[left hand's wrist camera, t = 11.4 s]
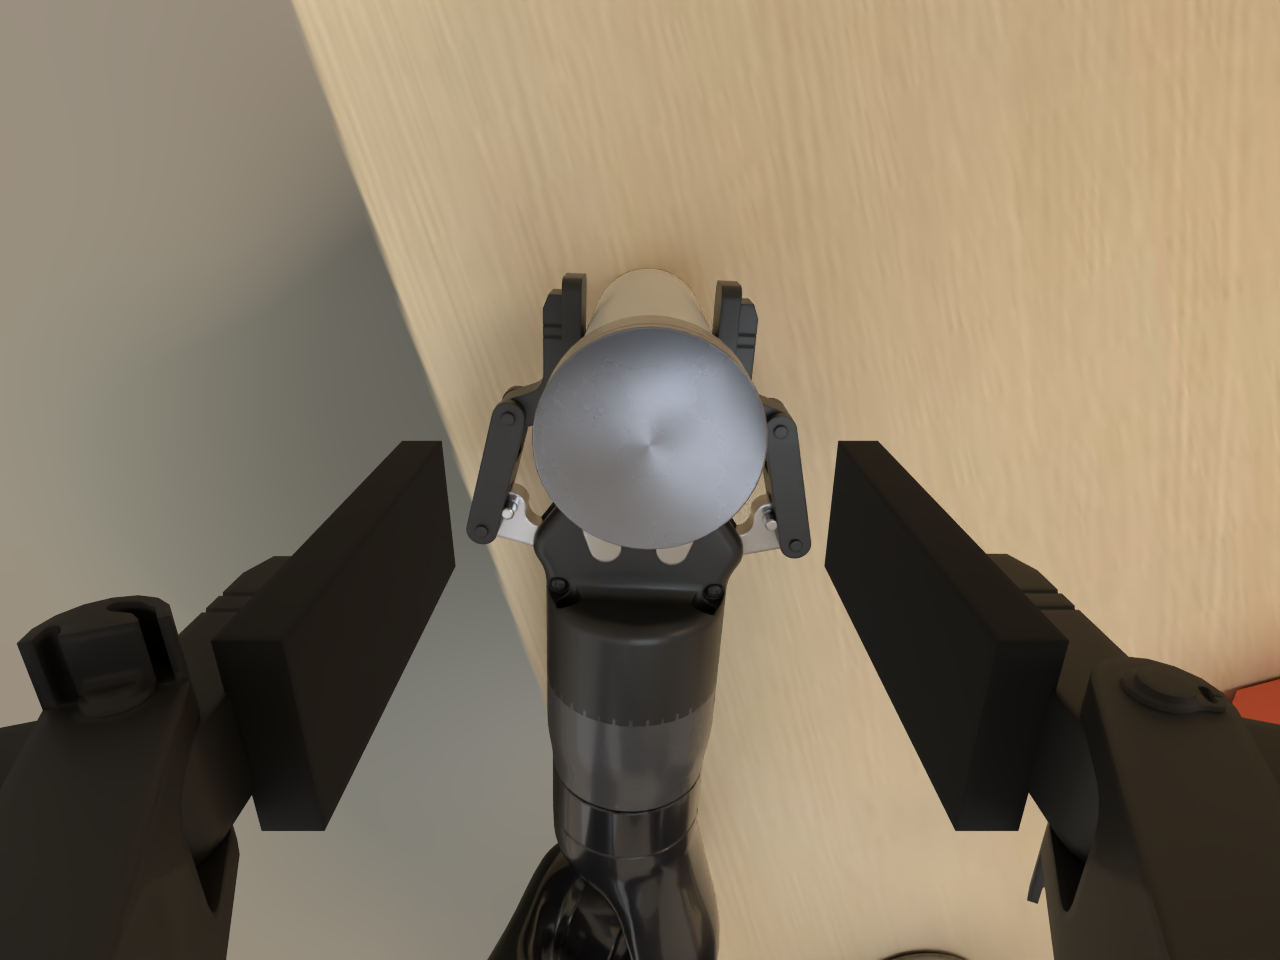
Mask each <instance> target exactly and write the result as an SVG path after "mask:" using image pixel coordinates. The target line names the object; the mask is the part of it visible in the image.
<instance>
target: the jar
mask: <svg viewBox="0 0 1280 960" xmlns="http://www.w3.org/2000/svg"><path fill="white" fill-rule="evenodd" d="M643 315H657V316H668V317H672V318H677V319H681V320H684V321H687V322H690V323H693V324H695V325H697V326H699V327H701V328H703V329H705V330H707V331H709V332H710V333H711V331H710V328H709V326H708V324H707V322H706V320H705V317H704V315H703V313H702V311H701V309H700V307H699V304H698V302H697V300H696V298H695V296H694V294H693V293H692V291H691V290H690V289H689V287H688V286H687V285H686V284H685V283H684V282H683V281H682V280H680V279H679V278H678V277H676V276H674V275H672V274H671V273H668V272H666V271H663V270H658V269H650V268H647V269H638V270H634V271H631V272H628V273H626V274H624V275H622V276H620V277H619V278H617V279H616V280H614V281H613V282H612V283H611V284H610V285H609V286H608V287H607V289H606V290H605V291H604V293H603V294H602V296H601V298H600V300H599V302H598V305H597V307H596V309H595V312H594V314H593V317H592V319H591V321H590V324H589V326H588V328H587V331H586V333H585V335H587V334H588V333H590V332H591V331H593V330H595V329H597V328H599V327H601V326H603V325H605V324H607V323H610V322H613V321H616V320H619V319H622V318H628V317H633V316H643ZM711 334H712V333H711Z"/></svg>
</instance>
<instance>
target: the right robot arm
mask: <svg viewBox="0 0 1280 960" xmlns="http://www.w3.org/2000/svg"><path fill="white" fill-rule="evenodd" d="M586 288H587V280H586V274H579V273H566V274H565V276H564V277H563V280H562V289H553V290H552V291H551V292H550V293H549V295H548V297H547V300H546V302H545V305H544V307H543V369H544V374H543V379H542V380H540V381H539V382H537V383H534V384H531V385H528V386H524V387H523V386H513V387H511V388H509V389H508V390H507V391H506V393H505V394H504V396H503V398H502V401H501V402H500V403H499V404H498V405H497V406H496V407H495V409H494V411H493V413H492V417H491V421H490V426H489V430H488V435H487V439H486V444H485V448H484V452H483V457H482V461H481V466H480V470H479V474H478V479H477V483H476V488H475V492H474V497H473V501H472V505H471V510H470V514H469V519H468V523H467V528H466V530H467V534H468V536H469V538H470V539H471V540H472V541H474V542H476V543H478V544H488V543H490V542H492V541H493V540H494V539H495V538H496V536H498V537H502V538H506V539H510V540H514V541H517V542H521V543H525V544H529V545H533V546H534V551H535V553H536V555H537V557H538V559H539V560H540V562H541V563H542V565H543V567H544V570H545V573H546V580H547V710H548V726H549V733H550V738H551V743H552V749H553V810H554V828H555V834H556V838H557V841H558V843H557V844H556V845H555V846H554V847H553V848H551V849H550V850H549V852H548V853H547V854H546V855H545V856H544V858H543V859H542V861H541V862H540V864H539V866H538V867H537V869H536V871H535V873H534V874H533V877H532V878H531V880H530V882H529V884H528V886H527V888H526V890H525V892H524V895H523V896H522V898H521V901H520V903H519V905H518V907H517V909H516V911H515V913H514V914H513V916H512V918H511V920H510V922H509V924H508V926H507V928H506V929H505V931H504V933H503V934H502V936H501V938H500V939H499V941H498V943H497V945H496V946H495V948H494V950H493V951H492V953H491V955H490V956H489V958H488V960H717V959H718V952H719V931H720V930H719V914H718V907H717V901H716V896H715V891H714V886H713V882H712V878H711V874H710V871H709V867H708V863H707V859H706V855H705V851H704V846H703V841H702V837H701V833H700V830H699V826H698V823H697V812H698V802H699V792H700V782H701V772H702V763H703V757H704V753H705V750H706V747H707V743H708V740H709V736H710V732H711V726H712V719H713V709H714V700H715V691H716V681H717V671H718V662H719V652H720V643H721V633H722V624H723V614H724V605H725V595H726V587H727V583H728V580H729V578H730V576H731V574H732V572H733V571H734V570H735V568H736V567H737V566H738V564H739V563H740V561H741V559H742V556H743V555H744V554H750V553H756V552H761V551H767V550H773V549H779V548H781V551H782V553H783V554H784V555H785V556H787V557H789V558H800V557H802V556H804V555H806V554H807V553H808V551H809V550H810V547H811V538H810V530H809V522H808V514H807V506H806V498H805V490H804V482H803V474H802V466H801V458H800V450H799V441H798V433H797V427H796V424H795V422H794V421H793V419H792V418H791V416H790V414H789V413H788V411H787V410H786V408H785V407H784V405H783V404H782V402H781V401H779V400H777V399H775V398H766V397H764V396H762V395H759V397H760V399H761V401H762V404H763V408H764V412H765V415H766V421H767V429H768V447H767V454H766V460H765V464H764V467H763V473H764V480H765V487H766V495H761V496H759V497H757V498H756V499H755V500H754V501H753V502H752V505H751V513H750V516H749V518H748V520H747V521H746V522H744V523H743V524H740V525H736V523H735V522H734V520H733V519H732V518H731V519H730V520H729V521H728V522H727V523H725V524H724V525H722V526H721V527H720V528H718V529H717V530H715V531H714V532H712V533H710V534H708V535H707V536H705V537H703V538H700V539H698V540H696V541H693V542H691V543H688V544H684V545H681V546H677V547H671V548H665V549H649V550H647V549H634V548H628V547H623V546H618V545H615V544H612V543H609V542H606V541H604V540H601V539H599V538H597V537H595V536H593V535H591V534H589V533H588V532H586V531H584V530H583V529H581V528H580V527H578V526H577V525H576V524H575V523H573V522H572V521H571V520H569V519H568V518H567V517H566V516H565V515H564V514H563V513H562V512H561V511H560V510H559V508H558V507H557V506H556V504H555V503H554V502H553V503H552V504H551V506H550V507H549V508H548V509H547V511H546V512H545V513H544V514H543V515H542V517H540V516H538V515H536V514H535V513H533V512H532V510H531V509H530V506H529V494H528V491H527V490H526V489H525V488H524V487H523V486H521V485H519V484H515V479H516V474H517V470H518V466H519V462H520V458H521V454H522V450H523V446H524V442H525V438H526V434H527V430H528V426H531V425H533V422H534V416H535V412H536V409H537V405H538V402H539V399H540V397H541V395H542V393H543V391H544V389H545V386H546V384H547V383H548V381H549V379H550V377H551V375H552V373H553V371H554V369H555V368H556V366H557V364H558V363H559V361H560V360H561V358H562V357H563V356H564V355H565V354H566V353H567V351H568V350H569V349H570V348H571V347H572V346H573V345H574V344H575V343H577V342H578V341H579V340H580V339H581V338H582V337H584V336H585V333H586ZM757 324H758V317H757V314H756V310H755V307H754V304H753V303H752V302H751V301H750V300H749V299H745V298H742V287H741V285H740V284H739V283H738V282H737V281H717V286H716V296H715V307H714V319H713V331H712V334H713V335H714V336H716V337H717V338H719V339H720V340H721V341H722V342H723V343H724V344H725V345H726V346H728V347H729V348H730V349H731V350H732V352H733V353H734V354H735V355H736V357H737V358H738V359H739V360H740V362H741V363H742V365H743V367H744V368H745V370H746V372H747V373H748V375H749V377H750V379H751V380H752V370H753V361H754V352H755V343H756V333H757ZM892 960H962V959H960V958H957V957H954V956H950V955H945V954H938V953H920V954H912V955H906V956H902V957H898V958H895V959H892Z"/></svg>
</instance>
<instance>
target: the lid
mask: <svg viewBox="0 0 1280 960" xmlns="http://www.w3.org/2000/svg"><path fill="white" fill-rule="evenodd" d="M532 446H533V454H534V460H535V464H536V468H537V472H538V474H539V476H540V479H541V481H542V484H543V486H544V488H545V489H546V491H547V493H548V495H549V496H550V498H551V499H552V501H553V502H554V503H555V504H556V506H557V507H558V508H559V510H560V511H561V512H562V513H563V514H564V515H565V516H566V517H567V518H568V519H569V520H571V521H572V522H573V523H575V524H576V525H577V526H578V527H580V528H581V529H583V530H584V531H586V532H588V533H589V534H591V535H593V536H595V537H597V538H599V539H601V540H604V541H606V542H609V543H612V544H615V545H618V546H623V547H628V548H634V549H647V550H649V549H665V548H671V547H677V546H681V545H684V544H688V543H691V542H693V541H696V540H698V539H700V538H703V537H705V536H707V535H708V534H710V533H712V532H714V531H715V530H717V529H718V528H720V527H721V526H722V525H724V524H725V523H727V522H728V521H729V520H730V519H731V518H732V517H733V516H734V515H735V514H736V513H737V512H738V511H739V510H740V509H741V508H742V507H743V505H744V504H745V503H746V502H747V500H748V499H749V497H750V496H751V494H752V492H753V491H754V489H755V487H756V485H757V483H758V481H759V479H760V476H761V474H762V470H763V467H764V464H765V460H766V454H767V447H768V429H767V421H766V415H765V412H764V408H763V404H762V401H761V399H760V397H759V394H758V392H757V390H756V388H755V386H754V384H753V382H752V380H751V379H750V377H749V375H748V373H747V372H746V370H745V368H744V367H743V365H742V363H741V362H740V360H739V359H738V358H737V357H736V355H735V354H734V353H733V352H732V350H731V349H730V348H729V347H728V346H726V345H725V344H724V343H723V342H722V341H721V340H720V339H719V338H717V337H716V336H714V335H713V334H711V333H710V332H709V331H707V330H705V329H703V328H701V327H699V326H697V325H695V324H693V323H690V322H687V321H684V320H681V319H677V318H672V317H668V316H657V315H643V316H633V317H628V318H622V319H619V320H616V321H613V322H610V323H607V324H605V325H603V326H601V327H599V328H597V329H595V330H593V331H591V332H590V333H588V334H587V335H585V336H584V337H582V338H581V339H580V340H579V341H578V342H577V343H575V344H574V345H573V346H572V347H571V348H570V349H569V350H568V351H567V353H566V354H565V355H564V356H563V357H562V358H561V360H560V361H559V363H558V364H557V366H556V368H555V369H554V371H553V373H552V375H551V377H550V379H549V381H548V383H547V384H546V386H545V389H544V391H543V393H542V395H541V397H540V399H539V402H538V405H537V409H536V412H535V416H534V422H533V429H532Z"/></svg>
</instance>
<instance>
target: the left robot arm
mask: <svg viewBox="0 0 1280 960" xmlns="http://www.w3.org/2000/svg"><path fill="white" fill-rule="evenodd" d="M454 568H455V557H454V548H453V539H452V531H451V521H450V512H449V503H448V494H447V485H446V476H445V467H444V458H443V449H442V441H402V442H401V443H400V444H399V445H398V446H397V447H396V448H395V449H394V450H393V451H392V452H391V453H390V454H389V455H388V456H387V457H386V458H385V459H384V460H383V462H382V463H381V464H380V465H379V466H378V467H377V468H376V469H375V470H374V471H373V472H372V473H371V474H370V475H369V476H368V477H367V478H366V479H365V480H364V481H363V482H362V483H361V484H360V485H359V486H358V488H357V489H356V490H355V491H354V492H353V493H352V494H351V495H350V496H349V497H348V498H347V499H346V500H345V501H344V502H343V503H342V504H341V505H340V506H339V507H338V508H337V509H336V510H335V511H334V513H333V514H332V515H331V516H330V517H329V518H328V519H327V520H326V521H325V522H324V523H323V524H322V525H321V526H320V527H319V528H318V529H317V530H316V531H315V532H314V533H313V534H312V535H311V536H310V538H309V539H308V540H307V541H306V542H305V543H304V544H303V545H302V546H301V547H300V548H299V549H298V550H297V551H296V552H295V553H294V554H293V555H292V556H274V557H272V558H270V559H268V560H266V561H264V562H262V563H261V564H259V565H257V566H255V567H253V568H251V569H249V570H248V571H246V572H244V573H243V574H242V575H241V576H239V577H238V578H237V579H236V580H235V581H234V582H233V583H232V584H231V585H230V586H229V587H228V588H227V589H226V590H225V591H224V592H223V596H219V597H218V598H216V599H215V600H214V601H213V602H212V603H211V604H210V605H209V606H208V607H207V608H206V613H201V614H200V615H199V616H198V617H197V618H196V619H194V621H192V622H191V623H190V624H189V625H188V626H187V627H186V628H185V629H184V630H183V631H182V632H181V633H180V634H179V635H178V633H177V629H176V626H175V622H174V619H173V615H172V612H171V608H170V605H169V604H167V603H166V602H164V601H163V600H161V599H159V598H156V597H148V596H140V595H137V596H126V597H115V598H109V599H105V600H101V601H97V602H93V603H89V604H84V605H82V606H79V607H76V608H74V609H71V610H69V611H66V612H63V613H61V614H58V615H56V616H54V617H52V618H50V619H49V620H47V621H45V622H43V623H42V624H40V625H38V626H36V627H35V628H33V629H31V630H30V631H29V632H28V633H27V634H26V635H25V636H24V637H23V638H22V639H21V640H20V641H19V642H18V643H17V645H18V648H19V650H20V653H21V656H22V658H23V661H24V663H25V666H26V668H27V671H28V674H29V676H30V679H31V681H32V684H33V686H34V689H35V691H36V694H37V697H38V699H39V702H40V704H41V707H42V709H43V711H42V713H41V715H40V717H39V718H38V720H37V721H33V722H28V723H23V724H18V725H13V726H8V727H2V728H0V960H226V955H227V948H228V940H229V932H230V924H231V917H232V909H233V901H234V893H235V885H236V878H237V870H238V862H239V848H238V842H237V837H236V834H235V831H234V827H233V823H234V822H235V820H236V819H237V817H238V816H239V814H240V813H241V811H242V809H243V808H244V806H245V805H246V803H247V802H248V800H249V799H250V797H251V795H252V796H253V800H254V804H255V807H256V811H257V815H258V819H259V822H260V826H261V830H262V831H325V829H326V827H327V825H328V823H329V821H330V819H331V817H332V815H333V813H334V811H335V809H336V807H337V804H338V802H339V800H340V798H341V796H342V794H343V792H344V790H345V788H346V786H347V784H348V782H349V780H350V778H351V776H352V774H353V772H354V770H355V768H356V766H357V764H358V762H359V760H360V758H361V756H362V754H363V752H364V750H365V748H366V746H367V744H368V742H369V740H370V738H371V736H372V734H373V732H374V730H375V728H376V726H377V724H378V722H379V720H380V718H381V716H382V713H383V712H384V710H385V707H386V705H387V703H388V701H389V699H390V697H391V695H392V693H393V691H394V689H395V687H396V685H397V683H398V681H399V679H400V677H401V675H402V673H403V671H404V669H405V667H406V665H407V663H408V661H409V659H410V657H411V655H412V653H413V651H414V649H415V647H416V645H417V643H418V641H419V639H420V637H421V635H422V633H423V631H424V629H425V627H426V625H427V623H428V621H429V619H430V616H431V615H432V613H433V610H434V608H435V606H436V604H437V602H438V600H439V598H440V596H441V594H442V592H443V590H444V588H445V586H446V584H447V582H448V580H449V578H450V576H451V574H452V572H453V570H454ZM825 568H826V570H827V572H828V574H829V576H830V578H831V580H832V582H833V584H834V586H835V588H836V590H837V592H838V594H839V596H840V598H841V600H842V602H843V604H844V606H845V608H846V610H847V613H848V615H849V617H850V619H851V621H852V623H853V625H854V627H855V629H856V631H857V633H858V635H859V637H860V639H861V641H862V643H863V645H864V647H865V649H866V651H867V653H868V655H869V657H870V659H871V661H872V663H873V665H874V667H875V669H876V671H877V673H878V675H879V677H880V679H881V681H882V683H883V685H884V687H885V689H886V691H887V693H888V695H889V697H890V699H891V701H892V703H893V705H894V708H895V710H896V712H897V714H898V716H899V718H900V720H901V722H902V724H903V726H904V728H905V730H906V732H907V734H908V736H909V738H910V740H911V742H912V744H913V746H914V748H915V750H916V752H917V754H918V756H919V758H920V760H921V762H922V764H923V766H924V768H925V770H926V772H927V774H928V776H929V778H930V780H931V782H932V784H933V786H934V788H935V790H936V792H937V794H938V796H939V798H940V800H941V802H942V805H943V807H944V809H945V811H946V813H947V815H948V817H949V819H950V821H951V823H952V825H953V827H954V829H955V831H1018V830H1019V826H1020V822H1021V819H1022V815H1023V811H1024V808H1025V804H1026V800H1027V796H1028V793H1030V795H1031V796H1032V798H1033V799H1034V801H1035V803H1036V804H1037V806H1038V807H1039V809H1040V810H1041V812H1042V813H1043V815H1044V816H1045V818H1046V819H1047V821H1048V824H1047V827H1046V831H1045V834H1044V837H1043V841H1042V844H1041V848H1040V851H1039V855H1038V858H1037V862H1036V865H1035V869H1034V872H1033V876H1032V879H1031V883H1030V887H1029V892H1028V898H1027V900H1028V901H1031V902H1034V903H1037V904H1038V901H1039V898H1040V894H1041V891H1042V888H1044V887H1045V891H1046V899H1047V907H1048V914H1049V922H1050V930H1051V938H1052V945H1053V953H1054V960H1280V724H1274V723H1269V722H1264V721H1259V720H1254V719H1249V718H1243V717H1241V715H1240V713H1239V711H1238V710H1237V708H1236V707H1235V706H1234V705H1233V704H1232V703H1231V701H1230V700H1229V699H1228V698H1227V697H1226V696H1225V694H1224V693H1222V692H1221V691H1219V690H1218V689H1216V688H1215V687H1213V686H1212V685H1210V684H1209V683H1207V682H1206V681H1204V680H1203V679H1201V678H1199V677H1197V676H1195V675H1193V674H1190V673H1188V672H1186V671H1184V670H1181V669H1179V668H1177V667H1175V666H1171V665H1168V664H1164V663H1160V662H1157V661H1153V660H1150V659H1144V658H1134V657H1128V656H1127V655H1126V654H1125V653H1124V652H1123V651H1122V650H1121V649H1120V648H1119V647H1118V646H1116V645H1115V644H1114V643H1113V642H1112V641H1111V640H1110V639H1109V638H1108V637H1107V636H1106V635H1105V634H1104V633H1103V632H1102V631H1101V630H1100V629H1099V628H1097V627H1096V626H1095V625H1094V624H1093V623H1092V622H1091V621H1090V620H1089V619H1088V618H1087V617H1086V616H1085V615H1084V614H1083V613H1082V612H1081V611H1080V610H1075V608H1074V607H1075V606H1074V605H1073V604H1072V603H1071V602H1070V601H1069V600H1068V599H1067V598H1066V597H1065V596H1064V595H1063V594H1058V590H1057V589H1056V588H1055V587H1054V586H1053V585H1052V584H1051V583H1050V582H1049V581H1048V580H1047V579H1046V578H1045V577H1044V576H1043V575H1042V574H1041V573H1040V572H1039V571H1037V570H1036V569H1034V568H1032V567H1030V566H1028V565H1026V564H1024V563H1023V562H1021V561H1019V560H1017V559H1015V558H1013V557H1011V556H1010V555H1008V554H986V553H985V552H984V551H983V550H982V549H981V548H980V547H979V546H978V545H977V544H976V543H975V542H974V541H973V540H972V539H971V538H970V536H969V535H968V534H967V533H966V532H965V531H964V530H963V529H962V528H961V527H960V526H959V525H958V524H957V523H956V522H955V521H954V520H953V519H952V518H951V517H950V516H949V515H948V514H947V513H946V511H945V510H944V509H943V508H942V507H941V506H940V505H939V504H938V503H937V502H936V501H935V500H934V499H933V498H932V497H931V496H930V495H929V494H928V493H927V492H926V491H925V490H924V489H923V488H922V486H921V485H920V484H919V483H918V482H917V481H916V480H915V479H914V478H913V477H912V476H911V475H910V474H909V473H908V472H907V471H906V470H905V469H904V468H903V467H902V466H901V465H900V464H899V463H898V461H897V460H896V459H895V458H894V457H893V456H892V455H891V454H890V453H889V452H888V451H887V450H886V449H885V448H884V447H883V446H882V445H881V444H880V443H879V442H878V441H838V449H837V458H836V467H835V476H834V485H833V494H832V503H831V512H830V521H829V530H828V539H827V548H826V557H825Z"/></svg>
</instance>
